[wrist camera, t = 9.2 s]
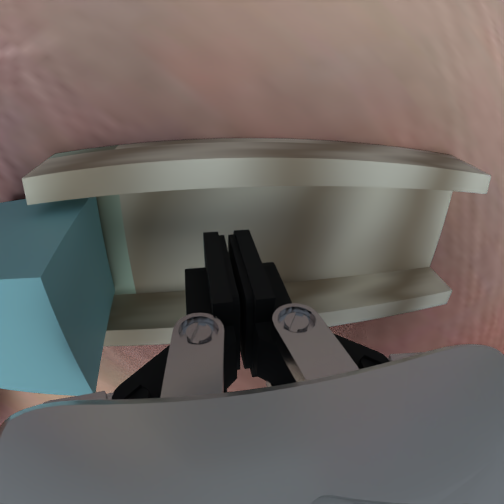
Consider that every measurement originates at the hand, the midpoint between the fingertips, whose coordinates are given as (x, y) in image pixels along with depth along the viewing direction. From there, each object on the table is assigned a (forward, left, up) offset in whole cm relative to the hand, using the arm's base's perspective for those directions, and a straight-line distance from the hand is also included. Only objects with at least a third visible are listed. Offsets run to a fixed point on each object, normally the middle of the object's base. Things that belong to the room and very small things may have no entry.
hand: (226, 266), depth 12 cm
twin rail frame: (-3, 0, -3) cm, 4 cm away
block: (+8, 0, -2) cm, 8 cm away
